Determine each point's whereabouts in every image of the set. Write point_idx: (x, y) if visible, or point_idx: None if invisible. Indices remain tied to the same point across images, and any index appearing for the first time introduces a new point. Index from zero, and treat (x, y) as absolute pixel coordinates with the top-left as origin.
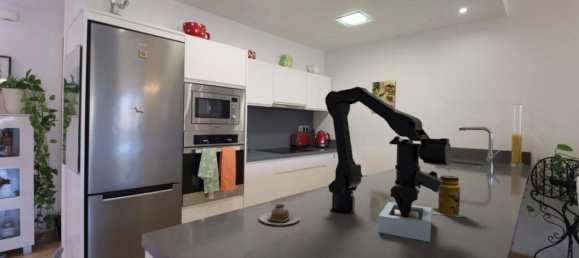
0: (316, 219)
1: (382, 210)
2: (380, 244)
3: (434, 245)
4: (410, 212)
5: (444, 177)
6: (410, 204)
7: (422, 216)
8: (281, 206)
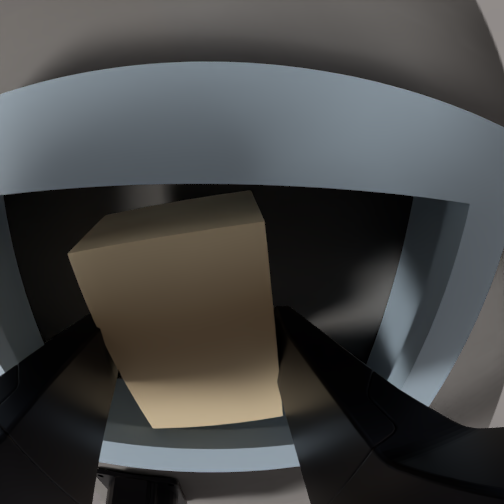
0: (295, 497)
1: (278, 468)
2: (482, 329)
3: (466, 108)
4: (152, 324)
5: None
6: (440, 421)
7: (337, 185)
8: None
